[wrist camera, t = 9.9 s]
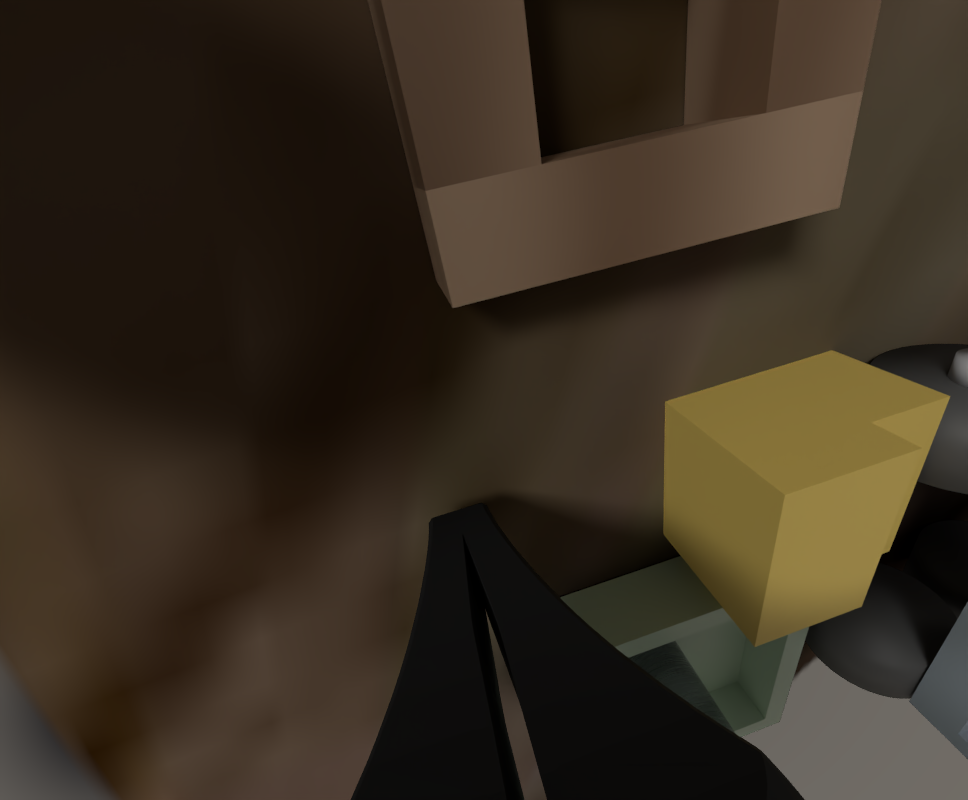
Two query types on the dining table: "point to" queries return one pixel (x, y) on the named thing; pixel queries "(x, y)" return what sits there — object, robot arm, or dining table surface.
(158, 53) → the dining table surface
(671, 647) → the stop pin
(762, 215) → the pin socket
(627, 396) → the dining table surface
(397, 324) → the dining table surface
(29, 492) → the dining table surface
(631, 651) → the tray
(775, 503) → the block
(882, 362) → the trolley
